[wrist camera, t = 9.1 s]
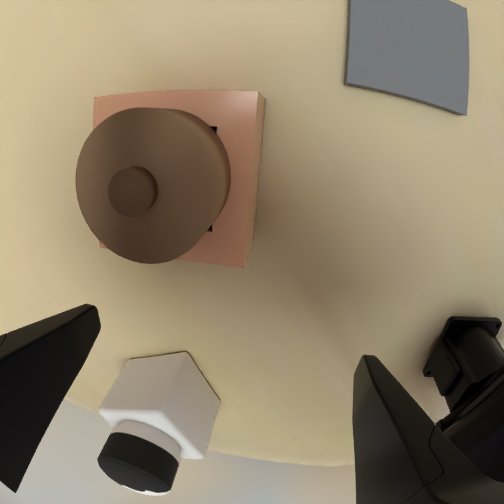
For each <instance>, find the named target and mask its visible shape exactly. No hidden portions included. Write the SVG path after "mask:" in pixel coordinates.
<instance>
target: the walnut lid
mask: <svg viewBox="0 0 504 504" xmlns="http://www.w3.org/2000/svg"><path fill="white" fill-rule="evenodd" d="M230 183H231V170H230V163H229V159H228V155H227V152H226V150H225V147H224V145H223V143H222V141H221V140H220V138H219V136H218V135H217V134H216V133H215V131H214V130H213V129H212V128H211V127H210V126H209V125H208V124H207V123H206V122H204V121H203V120H202V119H200V118H199V117H197V116H195V115H193V114H191V113H188V112H185V111H182V110H177V109H167V108H148V107H137V108H130V109H126V110H122V111H119V112H117V113H115V114H113V115H111V116H109V117H108V118H106V119H105V120H103V121H102V122H101V123H100V124H99V125H98V126H97V127H96V128H95V129H94V130H93V131H92V133H91V134H90V135H89V137H88V138H87V140H86V142H85V143H84V146H83V148H82V150H81V153H80V156H79V159H78V163H77V168H76V192H77V198H78V202H79V206H80V209H81V212H82V214H83V217H84V219H85V221H86V223H87V224H88V226H89V228H90V229H91V231H92V232H93V233H94V235H95V236H96V237H97V238H98V239H99V240H100V241H101V242H102V243H103V244H104V245H105V246H106V247H107V248H108V249H110V250H111V251H113V252H114V253H116V254H117V255H119V256H121V257H123V258H126V259H128V260H131V261H134V262H139V263H147V264H155V263H163V262H168V261H171V260H173V259H176V258H178V257H180V256H182V255H184V254H185V253H186V252H188V251H189V250H190V249H192V248H193V247H194V246H195V245H196V244H197V243H198V241H199V240H200V239H201V238H202V236H203V235H204V234H205V232H206V231H207V230H208V228H209V227H210V226H211V225H212V223H213V222H214V221H215V219H216V218H217V217H218V215H219V214H220V213H221V211H222V209H223V207H224V205H225V203H226V201H227V198H228V194H229V190H230Z"/></svg>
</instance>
